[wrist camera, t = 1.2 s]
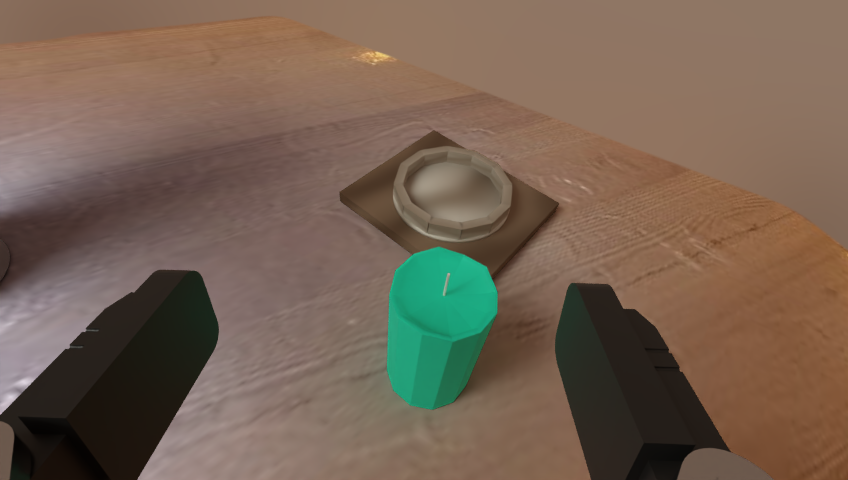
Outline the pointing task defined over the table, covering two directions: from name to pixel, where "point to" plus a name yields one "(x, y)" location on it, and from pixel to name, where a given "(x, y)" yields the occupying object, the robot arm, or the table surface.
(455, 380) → the candle
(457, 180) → the holder
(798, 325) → the table surface
